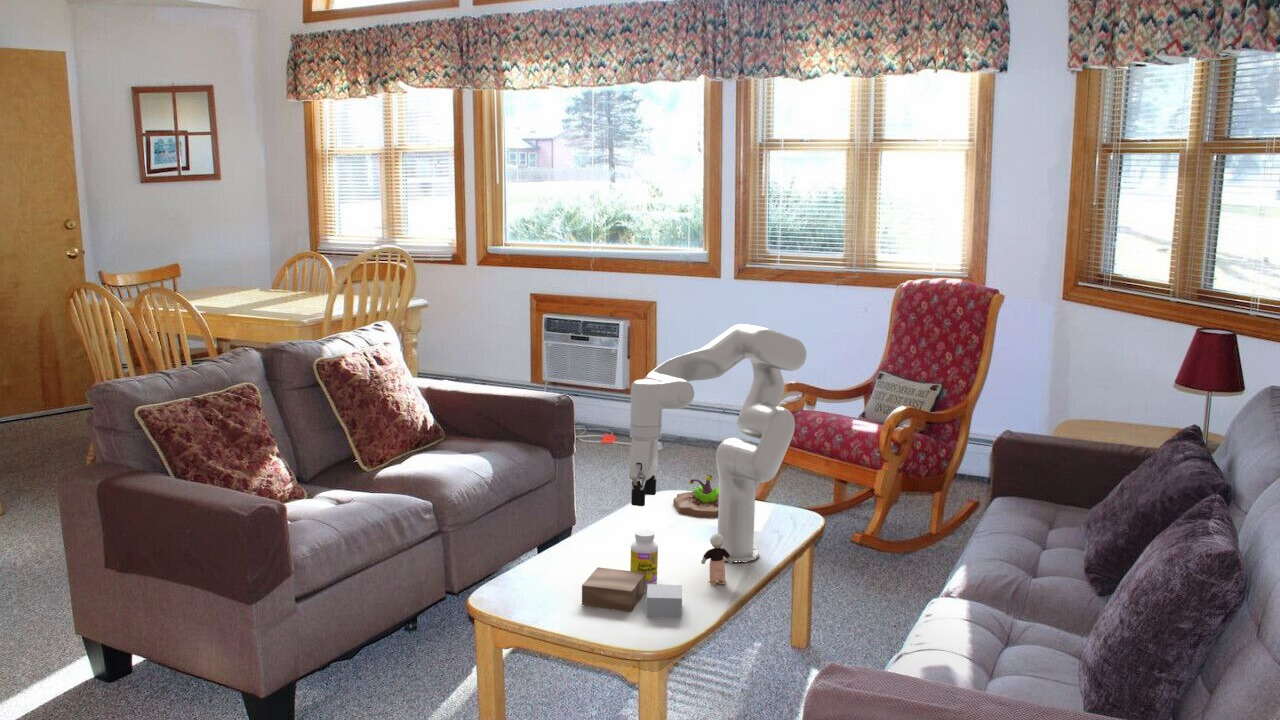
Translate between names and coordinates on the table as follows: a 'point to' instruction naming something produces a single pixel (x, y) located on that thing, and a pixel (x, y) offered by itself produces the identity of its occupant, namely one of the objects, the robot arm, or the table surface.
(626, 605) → the walnut block
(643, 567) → the supplement bottle
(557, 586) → the table surface
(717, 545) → the grandmother figurine
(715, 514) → the plant
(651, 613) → the grey block
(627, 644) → the table surface
